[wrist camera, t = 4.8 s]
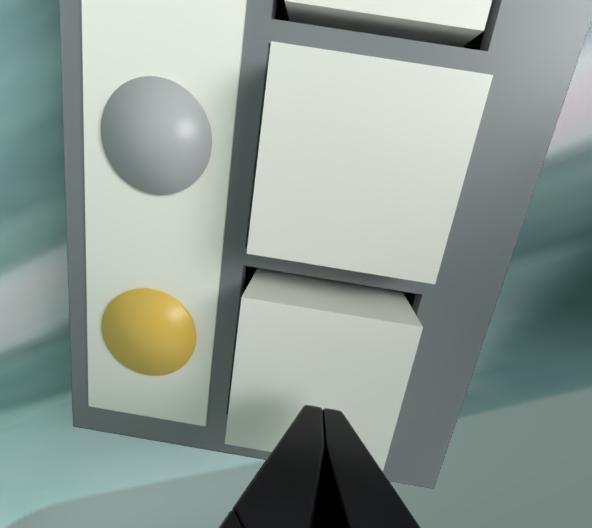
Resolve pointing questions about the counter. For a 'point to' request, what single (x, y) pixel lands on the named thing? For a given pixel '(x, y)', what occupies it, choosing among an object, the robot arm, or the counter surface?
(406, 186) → the button
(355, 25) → the button
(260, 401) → the button
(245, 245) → the board
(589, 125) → the counter surface
